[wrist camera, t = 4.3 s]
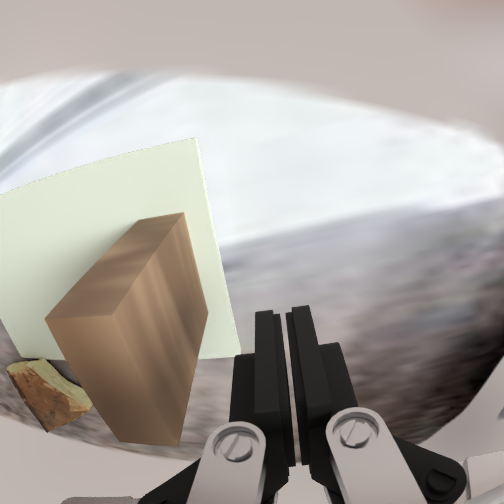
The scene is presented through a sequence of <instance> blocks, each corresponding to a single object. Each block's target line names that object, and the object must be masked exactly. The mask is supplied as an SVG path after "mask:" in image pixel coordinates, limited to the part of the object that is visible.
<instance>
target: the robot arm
mask: <svg viewBox="0 0 504 504" xmlns="http://www.w3.org/2000/svg"><path fill="white" fill-rule="evenodd" d="M286 322H287V331H288V340H289V349H290V358H291V368H292V377H293V386H294V395H295V404H296V413H297V423H298V432H299V442H300V452H301V462H302V465H309V469H310V474H311V477H312V479H313V480H315V481H316V482H318V483H320V484H322V485H323V486H324V490H325V493H326V496H327V500H328V503H329V504H504V450H501V451H497V452H492V453H488V454H483V455H478V456H473V457H467V458H466V459H465V461H460V462H456V461H454V460H453V459H450V458H447V457H445V456H442V455H440V454H437V453H435V452H432V451H429V450H427V449H424V448H422V447H419V446H417V445H415V444H412V443H410V442H407V441H405V440H403V439H400V438H398V437H396V436H393V435H391V433H390V431H389V429H388V428H387V426H386V424H385V422H384V420H383V419H382V418H381V417H380V415H379V414H377V413H376V412H374V411H373V410H370V409H367V408H362V407H358V404H357V401H356V397H355V394H354V390H353V387H352V383H351V380H350V377H349V373H348V370H347V367H346V363H345V360H344V357H343V354H342V350H341V347H340V345H339V343H338V342H336V343H329V344H323V345H318V341H317V336H316V332H315V328H314V324H313V320H312V316H311V312H310V307H309V305H306V306H299V307H292V312H288V313H286ZM293 466H296V462H295V450H294V438H293V427H292V416H291V406H290V395H289V385H288V375H287V367H286V358H285V350H284V342H283V334H282V326H281V318H280V314H273V310H268V311H259V312H255V353H251V354H240V355H235V358H234V368H233V380H232V392H231V404H230V416H229V423H227V424H223V425H222V426H220V427H218V428H217V429H215V430H214V431H213V432H212V433H211V434H210V436H209V438H208V440H207V442H206V445H205V448H204V451H203V454H202V457H201V458H200V459H198V460H197V461H195V462H194V463H193V464H191V465H190V466H188V467H187V468H185V469H184V470H183V471H181V472H180V473H178V474H177V475H175V476H174V477H172V478H171V479H169V480H168V481H166V482H165V483H163V484H162V485H160V486H159V487H157V488H155V489H154V490H152V491H151V492H149V493H147V494H146V495H145V496H143V497H142V498H139V499H133V498H132V497H131V496H130V497H129V496H128V497H72V498H68V499H66V500H64V501H63V502H62V503H61V504H277V498H278V490H279V489H280V488H282V487H283V486H284V485H285V484H286V483H287V482H288V476H289V467H293Z"/></svg>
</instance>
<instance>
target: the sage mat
mask: <svg viewBox="0 0 504 504" xmlns="http://www.w3.org/2000/svg"><path fill="white" fill-rule="evenodd" d="M181 212H184V214H185V218H186V223H187V227H188V232H189V236H190V240H191V245H192V249H193V253H194V257H195V261H196V265H197V269H198V274H199V278H200V282H201V285H202V289H203V293H204V297H205V301H206V305H207V309H208V317H207V321H206V325H205V330H204V334H203V338H202V342H201V347H200V351H199V355H198V359H210V358H224V357H235V355H240V354H241V348H240V343H239V339H238V335H237V330H236V326H235V321H234V317H233V312H232V308H231V303H230V299H229V294H228V289H227V285H226V280H225V275H224V271H223V266H222V261H221V257H220V252H219V247H218V242H217V237H216V232H215V227H214V222H213V217H212V212H211V207H210V202H209V197H208V192H207V187H206V181H205V176H204V171H203V165H202V160H201V155H200V149H199V144H198V138H197V137H196V138H191V139H186V140H181V141H177V142H172V143H167V144H163V145H159V146H154V147H150V148H146V149H142V150H138V151H134V152H130V153H126V154H122V155H118V156H115V157H111V158H107V159H104V160H100V161H97V162H93V163H90V164H87V165H83V166H80V167H77V168H74V169H70V170H67V171H64V172H61V173H58V174H55V175H52V176H49V177H46V178H43V179H40V180H38V181H35V182H32V183H29V184H27V185H24V186H21V187H19V188H16V189H13V190H11V191H8V192H6V193H3V194H1V195H0V319H1V321H2V322H3V324H4V326H5V328H6V330H7V332H8V334H9V336H10V338H11V339H12V341H13V343H14V345H15V347H16V348H17V350H18V352H19V354H20V355H21V357H23V358H36V359H41V358H45V359H51V360H66V359H65V358H64V356H63V354H62V352H61V350H60V348H59V347H58V345H57V343H56V341H55V339H54V337H53V335H52V333H51V331H50V329H49V327H48V325H47V323H46V321H45V319H44V318H45V317H46V316H47V315H48V314H49V313H50V311H51V310H52V309H53V308H54V307H55V306H56V305H57V304H58V302H59V301H60V300H61V299H62V298H63V297H64V296H65V295H66V294H67V292H68V291H69V290H70V289H71V288H72V287H73V286H74V285H75V284H76V283H77V282H78V281H79V279H80V278H81V277H82V276H83V275H84V274H85V273H86V272H87V271H88V270H89V269H90V268H91V267H92V266H93V265H94V264H95V263H96V262H97V261H98V260H99V259H100V258H101V257H102V255H103V254H104V253H105V252H106V251H107V250H108V249H109V248H110V247H111V246H112V245H113V244H114V243H115V242H116V241H117V240H118V239H120V238H121V237H122V236H123V235H124V234H125V233H126V232H127V231H128V230H129V229H130V228H131V227H132V226H133V225H134V224H135V223H136V222H137V221H138V220H140V219H146V218H152V217H157V216H163V215H169V214H175V213H181Z"/></svg>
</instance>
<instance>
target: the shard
mask: <svg viewBox="0 0 504 504" xmlns="http://www.w3.org/2000/svg"><path fill="white" fill-rule="evenodd" d="M6 371H7V373H8V374H9V377H10V379H11V380H12V383H13V384H14V386H15V387H16V388H17V390H18V392H19V394H20V396H21V398H22V399H23V401H24V402H25V404H26V405H27V406H28V408H29V409H30V411H31V412H32V413H33V415H34V416H35V417H36V419H37V420H38V421H39V422H40V423H41V425H42V426H43V428H44V429H45V431H46V432H47V433H48V432H49V431H51V430H54V429H55V427H58V426H61V425H65V424H67V423H69V422H72V421H74V420H75V419H78V418H79V417H81V416H82V415H83V414H84V413H85V412H88V411H89V410H90V408H91V406H92V404H93V403H92V402H91V400H90V399H89V397H88V396H87V394H86V393H85V391H84V389H83V388H81V387H78V386H77V385H75V384H73V383H71V382H69V381H67V380H66V379H65V378H64V377H62V376H61V375H60V374H59V372H58V371H57V370H56V369H55V368H54V367H53V366H52V365H51V364H50V363H48V362H47V360H46V359H45V358H41V359H39V360H38V361H30V362H28V361H25V362H18V363H12V364H10V365H9V366H8V367H7V369H6Z"/></svg>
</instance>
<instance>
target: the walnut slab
mask: <svg viewBox="0 0 504 504" xmlns="http://www.w3.org/2000/svg"><path fill="white" fill-rule="evenodd" d="M207 317H208V309H207V305H206V301H205V297H204V293H203V289H202V285H201V282H200V278H199V274H198V269H197V265H196V261H195V257H194V253H193V249H192V245H191V240H190V236H189V232H188V227H187V223H186V218H185V214H184V212H181V213H175V214H169V215H163V216H157V217H152V218H146V219H140V220H138V221H137V222H136V223H135V224H134V225H133V226H132V227H131V228H130V229H129V230H128V231H127V232H126V233H125V234H124V235H123V236H122V237H121V238H120V239H118V240H117V241H116V242H115V243H114V244H113V245H112V246H111V247H110V248H109V249H108V250H107V251H106V252H105V253H104V254H103V255H102V257H101V258H100V259H99V260H98V261H97V262H96V263H95V264H94V265H93V266H92V267H91V268H90V269H89V270H88V271H87V272H86V273H85V274H84V275H83V276H82V277H81V278H80V279H79V281H78V282H77V283H76V284H75V285H74V286H73V287H72V288H71V289H70V290H69V291H68V292H67V294H66V295H65V296H64V297H63V298H62V299H61V300H60V301H59V302H58V304H57V305H56V306H55V307H54V308H53V309H52V310H51V311H50V313H49V314H48V315H47V316H46V317H45V318H44V319H45V321H46V323H47V325H48V327H49V329H50V331H51V333H52V335H53V337H54V339H55V341H56V343H57V345H58V347H59V348H60V350H61V352H62V354H63V356H64V358H65V359H66V361H67V363H68V365H69V366H70V368H71V370H72V371H73V373H74V375H75V376H76V378H77V380H78V381H79V383H80V385H81V386H82V388H83V389H84V391H85V393H86V394H87V396H88V397H89V399H90V400H91V402H92V403H93V405H94V406H95V408H96V409H97V411H98V412H99V414H100V415H101V417H102V418H103V419H104V421H105V422H106V424H107V425H108V426H109V428H110V429H111V431H112V432H113V433H114V435H115V436H116V437H117V439H118V440H119V441H120V442H126V443H136V444H148V445H162V446H179V442H180V437H181V432H182V427H183V423H184V418H185V413H186V409H187V404H188V400H189V395H190V391H191V386H192V382H193V377H194V373H195V368H196V364H197V360H198V355H199V351H200V347H201V342H202V338H203V334H204V330H205V325H206V321H207Z"/></svg>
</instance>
